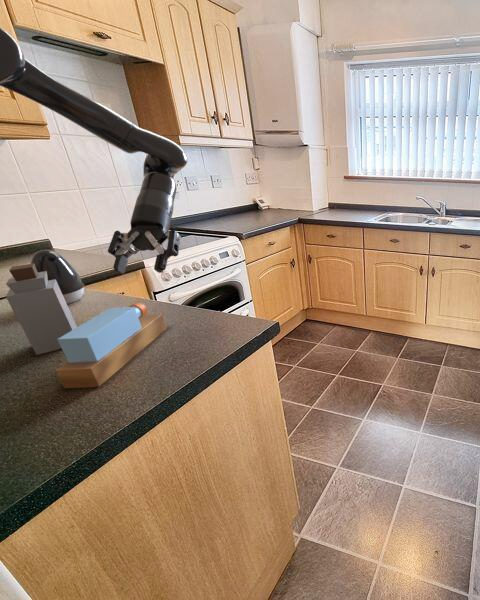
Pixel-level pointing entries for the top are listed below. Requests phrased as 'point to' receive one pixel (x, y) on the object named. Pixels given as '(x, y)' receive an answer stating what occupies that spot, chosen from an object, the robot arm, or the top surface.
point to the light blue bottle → (101, 333)
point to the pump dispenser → (60, 273)
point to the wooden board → (111, 356)
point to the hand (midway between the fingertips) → (138, 271)
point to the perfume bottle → (39, 307)
